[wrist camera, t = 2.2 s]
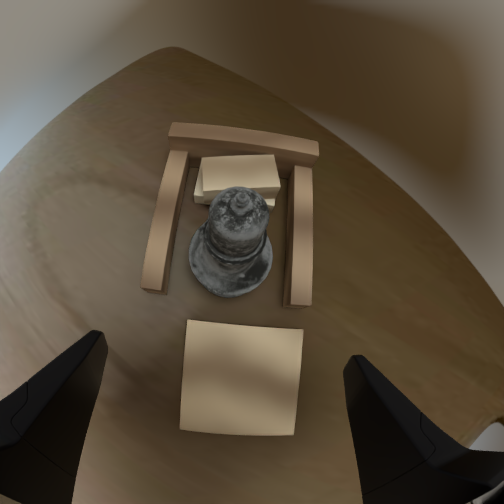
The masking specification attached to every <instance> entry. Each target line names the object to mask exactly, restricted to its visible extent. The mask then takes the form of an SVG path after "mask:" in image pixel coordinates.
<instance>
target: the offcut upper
mask: <svg viewBox="0 0 504 504" xmlns="http://www.w3.org/2000/svg"><path fill="white" fill-rule="evenodd" d="M202 175H203V192H204V203H211V202H212V201H213V199H214V198H215V196H216V195H217V194H218V193H220V192H221V191H223V190H225V189H227V188H230V187H235V186H237V187H246V188H250V189H252V190H254V191H256V192H257V193H259V194H260V195H261V196H262V197H263V198H264V199H276V197H277V194H278V192H279V190H280V187H281V186H280V181H279V176H278V171H277V167H276V162H275V158H274V155H238V156H219V157H204V158H202Z"/></svg>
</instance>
